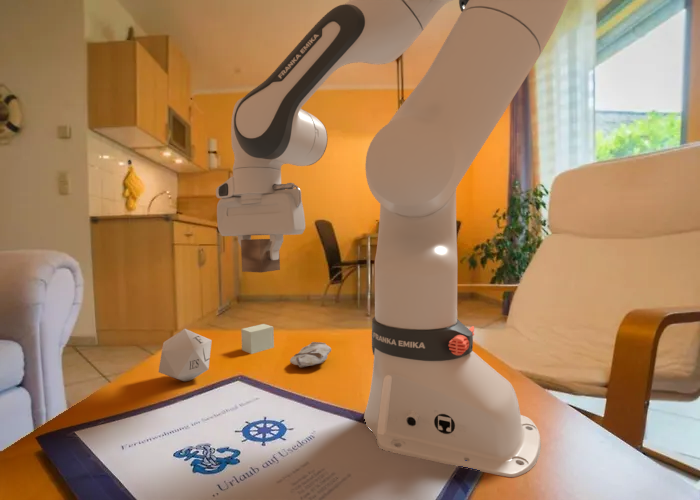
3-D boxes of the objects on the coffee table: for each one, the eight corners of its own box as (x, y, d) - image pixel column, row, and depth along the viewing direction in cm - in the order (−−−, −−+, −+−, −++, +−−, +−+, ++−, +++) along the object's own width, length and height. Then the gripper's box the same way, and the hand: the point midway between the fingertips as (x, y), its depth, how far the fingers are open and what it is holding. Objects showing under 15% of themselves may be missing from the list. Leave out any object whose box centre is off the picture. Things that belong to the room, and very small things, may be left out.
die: (194, 395, 61) (192, 336, 60) (148, 391, 63) (145, 334, 62) (221, 375, 69) (220, 323, 69) (180, 371, 71) (178, 321, 70)
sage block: (273, 347, 85) (273, 326, 85) (251, 354, 81) (250, 332, 81) (264, 344, 88) (263, 323, 88) (242, 350, 84) (241, 329, 83)
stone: (322, 372, 70) (321, 359, 69) (286, 370, 71) (285, 357, 71) (333, 352, 79) (333, 340, 79) (301, 351, 80) (301, 339, 80)
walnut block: (279, 269, 70) (278, 238, 70) (260, 272, 66) (259, 239, 66) (261, 268, 73) (260, 239, 73) (242, 271, 69) (240, 239, 69)
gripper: (311, 183, 66) (313, 259, 67) (235, 192, 77) (238, 257, 78) (287, 179, 61) (290, 262, 61) (209, 189, 72) (213, 259, 72)
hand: (260, 259), depth 70 cm, fingers closed on walnut block, 5 cm apart
